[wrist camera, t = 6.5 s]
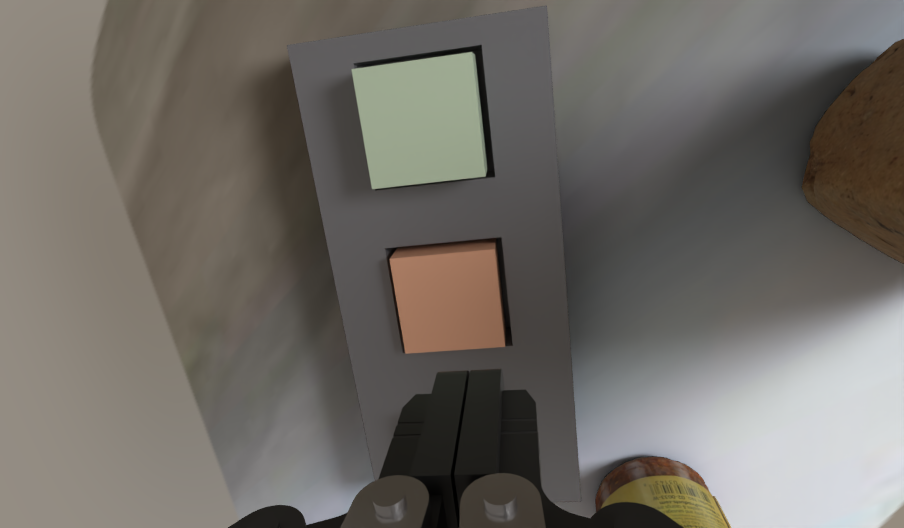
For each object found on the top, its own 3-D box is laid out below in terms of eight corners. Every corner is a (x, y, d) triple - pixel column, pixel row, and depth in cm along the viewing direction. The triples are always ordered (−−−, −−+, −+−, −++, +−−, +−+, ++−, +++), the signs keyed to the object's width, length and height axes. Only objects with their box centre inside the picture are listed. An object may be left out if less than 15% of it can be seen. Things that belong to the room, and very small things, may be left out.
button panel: (313, 50, 24) (286, 45, 21) (542, 15, 23) (546, 5, 20) (392, 468, 30) (380, 507, 28) (574, 461, 29) (581, 501, 26)
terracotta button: (398, 245, 25) (389, 258, 23) (495, 236, 24) (494, 249, 22) (413, 334, 26) (405, 353, 24) (505, 327, 25) (505, 346, 23)
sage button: (365, 70, 22) (351, 69, 20) (475, 55, 21) (471, 51, 19) (383, 180, 23) (371, 189, 21) (487, 168, 22) (485, 176, 20)
